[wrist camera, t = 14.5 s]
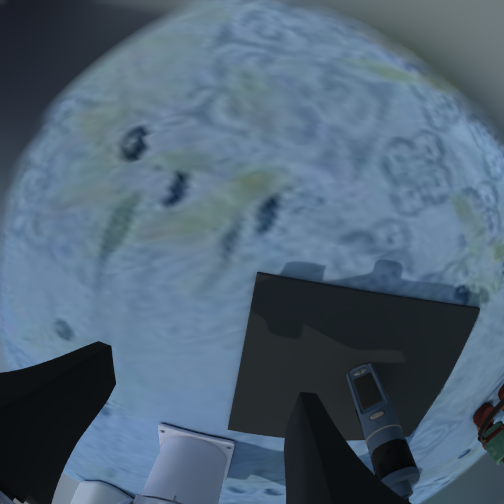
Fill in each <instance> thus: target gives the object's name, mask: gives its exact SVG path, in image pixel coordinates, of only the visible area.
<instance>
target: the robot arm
mask: <svg viewBox="0 0 504 504" xmlns="http://www.w3.org/2000/svg"><path fill="white" fill-rule="evenodd" d="M115 385H116V380H115V373H114V365H113V357H112V348H111V346H110V345H107V344H105V343H102V342H100V341H98V342H95V343H92V344H90V345H87V346H85V347H82V348H80V349H77V350H75V351H73V352H70V353H68V354H65V355H63V356H60V357H58V358H55V359H52V360H49V361H46V362H44V363H41V364H38V365H35V366H31V367H28V368H24V369H20V370H15V371H10V372H2V373H0V504H15V503H14V502H13V500H14V498H16V499H17V500H18V501H20V502H21V503H24V502H25V501H26V502H27V503H28V504H51V503H52V499H53V496H54V492H55V490H56V487H57V484H58V481H59V479H60V476H61V474H62V472H63V469H64V467H65V465H66V463H67V461H68V459H69V457H70V455H71V453H72V451H73V449H74V447H75V445H76V444H77V442H78V441H79V439H80V438H81V436H82V435H83V433H84V432H85V431H86V429H87V428H88V427H89V425H90V424H91V423H92V421H93V420H94V419H95V417H96V416H97V415H98V413H99V412H100V410H101V409H102V408H103V406H104V405H105V404H106V402H107V400H108V398H109V397H110V395H111V393H112V391H113V389H114V387H115ZM158 431H159V440H160V448H161V449H160V452H159V454H158V456H157V459H156V461H155V463H154V466H153V468H152V470H151V472H150V475H149V477H148V479H147V482H146V484H145V486H144V489H143V491H142V493H141V495H139V494H137V495H136V497H135V499H134V501H133V500H131V499H125V500H123V501H120V502H119V503H118V504H218V503H219V498H220V493H221V488H222V483H223V480H226V478H227V474H228V470H229V466H230V462H231V458H232V454H233V450H234V446H235V443H234V442H233V441H231V440H226V439H221V438H216V437H211V436H207V435H203V434H198V433H194V432H190V431H187V430H183V429H179V428H176V427H172V426H169V425H166V424H159V426H158ZM284 458H285V478H286V504H411V503H410V502H408V501H407V500H405V499H403V498H402V497H401V496H399V495H398V494H396V493H395V492H394V491H393V490H391V489H390V488H389V487H388V486H387V485H385V484H384V483H383V482H382V481H381V480H379V479H378V478H377V477H376V476H375V475H374V474H373V473H372V472H371V471H370V470H369V469H368V468H367V467H366V466H365V464H364V463H363V462H362V461H361V460H360V459H359V457H358V456H357V455H356V454H355V452H354V451H353V450H352V449H351V447H350V446H349V445H348V443H347V442H346V440H345V439H344V438H343V436H342V435H341V433H340V432H339V430H338V429H337V427H336V425H335V424H334V422H333V421H332V419H331V417H330V416H329V414H328V412H327V411H326V409H325V407H324V405H323V404H322V402H321V400H320V398H319V397H318V395H317V394H316V393H308V392H300V393H299V396H298V398H297V401H296V403H295V406H294V408H293V410H292V413H291V415H290V418H289V420H288V422H287V425H286V431H285V443H284Z"/></svg>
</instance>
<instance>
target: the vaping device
mask: <svg viewBox="0 0 504 504" xmlns="http://www.w3.org/2000/svg"><path fill="white" fill-rule="evenodd" d="M346 377H347V380H348V383H349V386H350V390H351V393H352V396H353V399H354V403H355V406H356V408H355V411H356V414H357V416H358V419H359V422H360V425H361V427H362V430H363V433H364V436H365V440H366V445H367V447H368V450H369V454H370V457H371V459H372V460H371V461H372V463H373V464H372V465H373V469H374V473H375V476H376V477H377V478H378V479H379V480H381V481H382V482H383V483H384V484H385V485H387V486H388V487H389V488H390V489H391V490H393V491H394V492H395V493H396V494H398V495H399V496H401V497H402V498H403V499H406V498H408V497H410V496H411V495H412V494H413V491H412V488H411V485H412V484H414V483H415V482H416V481H417V480H418V479H419V477H420V474H419V472H418V469H417V466H416V464H415V461H414V459H413V456H412V453H411V451H410V448H409V446H408V443H407V441H406V439H405V436H404V434H403V431H402V427H401V426H400V423H399V421H398V419H397V417H396V414H395V412H394V409H393V406H392V403H391V400H390V398H389V395H388V394H386V392H385V390H384V388H383V385H382V383H381V381H380V379H379V377H378V375H377V373H376V371H375V368H374V366H373V365H372V364H371V363H369V364H363V365H360V366H357V367H355V368H354V369H352V370H351V371H350V372H349V373H347V376H346ZM408 457H409V458H408ZM375 471H376V472H375Z"/></svg>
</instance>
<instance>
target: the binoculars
mask: <svg viewBox="0 0 504 504" xmlns="http://www.w3.org/2000/svg"><path fill="white" fill-rule="evenodd" d="M498 397H499V399H500V400H501V401H500V402H499V403H498V404H497V405H496V406H495V407H494V406H493V405H491V404H490V403H485V404H484V405H482V406H481V407H480V408H479V409H478V411H477V412H476V414H475V416H474V419H473V422H474V423H475V424H476V425H477V426H478V429H477V430H478V431H479V432H478V436H479V437H478V441H480V442H481V443H482V445H483V446H482V447H484V449H485V450H487V452H488V453H489V454H490V456H491V457H492V458H493V460H494V461H495V463H496V464H500V463H502V462H504V424H503V422H502V421H499V422H497V423H496V424H493V423H494V420H493V418H494V417H495V415H496V414H497V413H498V412H499V411H500V410H501V409H502V410H503V411H504V385H503V386H502V387H501V389H500V391H499V393H498Z"/></svg>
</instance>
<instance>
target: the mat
mask: <svg viewBox="0 0 504 504" xmlns="http://www.w3.org/2000/svg"><path fill="white" fill-rule="evenodd" d="M479 311H480V308H478V307H472V306H465V305H458V304H451V303H444V302H437V301H430V300H423V299H416V298H410V297H403V296H397V295H390V294H384V293H378V292H371V291H365V290H359V289H353V288H347V287H341V286H335V285H329V284H323V283H317V282H312V281H306V280H300V279H294V278H289V277H283V276H278V275H272V274H266V273H261V272H257V276H256V282H255V287H254V293H253V298H252V303H251V309H250V314H249V320H248V325H247V331H246V336H245V341H244V347H243V352H242V357H241V363H240V368H239V373H238V378H237V384H236V389H235V394H234V399H233V405H232V410H231V415H230V420H229V425H228V430H233V431H239V432H244V433H251V434H257V435H265V436H273V437H282V438H285V431H286V425H287V422H288V420H289V418H290V415H291V413H292V410H293V408H294V406H295V403H296V401H297V398H298V396H299V393H300V392H308V393H316V394H317V395H318V397H319V398H320V400H321V402H322V404H323V405H324V407H325V409H326V411H327V412H328V414H329V416H330V417H331V419H332V421H333V422H334V424H335V425H336V427H337V429H338V430H339V432H340V433H341V435H342V436H343V438H344V439H345V440H346V441H348V440H365V436H364V433H363V430H362V427H361V425H360V422H359V419H358V416H357V414H356V411H355V408H356V406H355V403H354V399H353V396H352V393H351V390H350V386H349V383H348V380H347V377H346V376H347V373H349V372H350V371H351V370H352V369H354V368H355V367H357V366H360V365H363V364H369V363H371V364H372V365H373V366H374V368H375V371H376V373H377V375H378V377H379V379H380V381H381V383H382V385H383V388H384V390H385V392H386V394H388V395H389V398H390V400H391V403H392V406H393V409H394V412H395V414H396V417H397V419H398V421H399V423H400V426H401V427H402V431H403V434H404V436H405V437H408V436H410V435H411V434H412V433H413V431H414V430H415V429H416V427H417V426H418V424H419V423H420V422H421V420H422V419H423V417H424V416H425V414H426V413H427V411H428V410H429V408H430V407H431V405H432V404H433V402H434V401H435V399H436V398H437V396H438V394H439V393H440V391H441V389H442V388H443V386H444V384H445V382H446V381H447V379H448V377H449V375H450V374H451V372H452V370H453V368H454V366H455V364H456V362H457V360H458V358H459V356H460V354H461V352H462V350H463V348H464V346H465V344H466V342H467V340H468V337H469V335H470V333H471V330H472V328H473V326H474V323H475V321H476V318H477V316H478V313H479Z"/></svg>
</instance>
